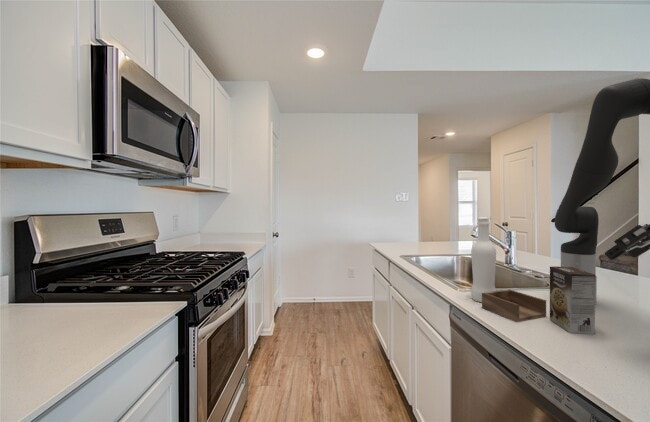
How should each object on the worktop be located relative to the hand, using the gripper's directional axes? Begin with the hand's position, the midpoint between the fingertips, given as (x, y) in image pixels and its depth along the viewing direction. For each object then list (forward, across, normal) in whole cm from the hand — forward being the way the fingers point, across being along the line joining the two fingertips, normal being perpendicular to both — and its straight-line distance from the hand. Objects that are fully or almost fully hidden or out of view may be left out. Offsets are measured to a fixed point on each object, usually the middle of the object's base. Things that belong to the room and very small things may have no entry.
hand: (619, 255), depth 72 cm
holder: (+33, +5, -2) cm, 33 cm away
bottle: (+42, +4, -10) cm, 43 cm away
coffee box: (+23, 0, +8) cm, 24 cm away
